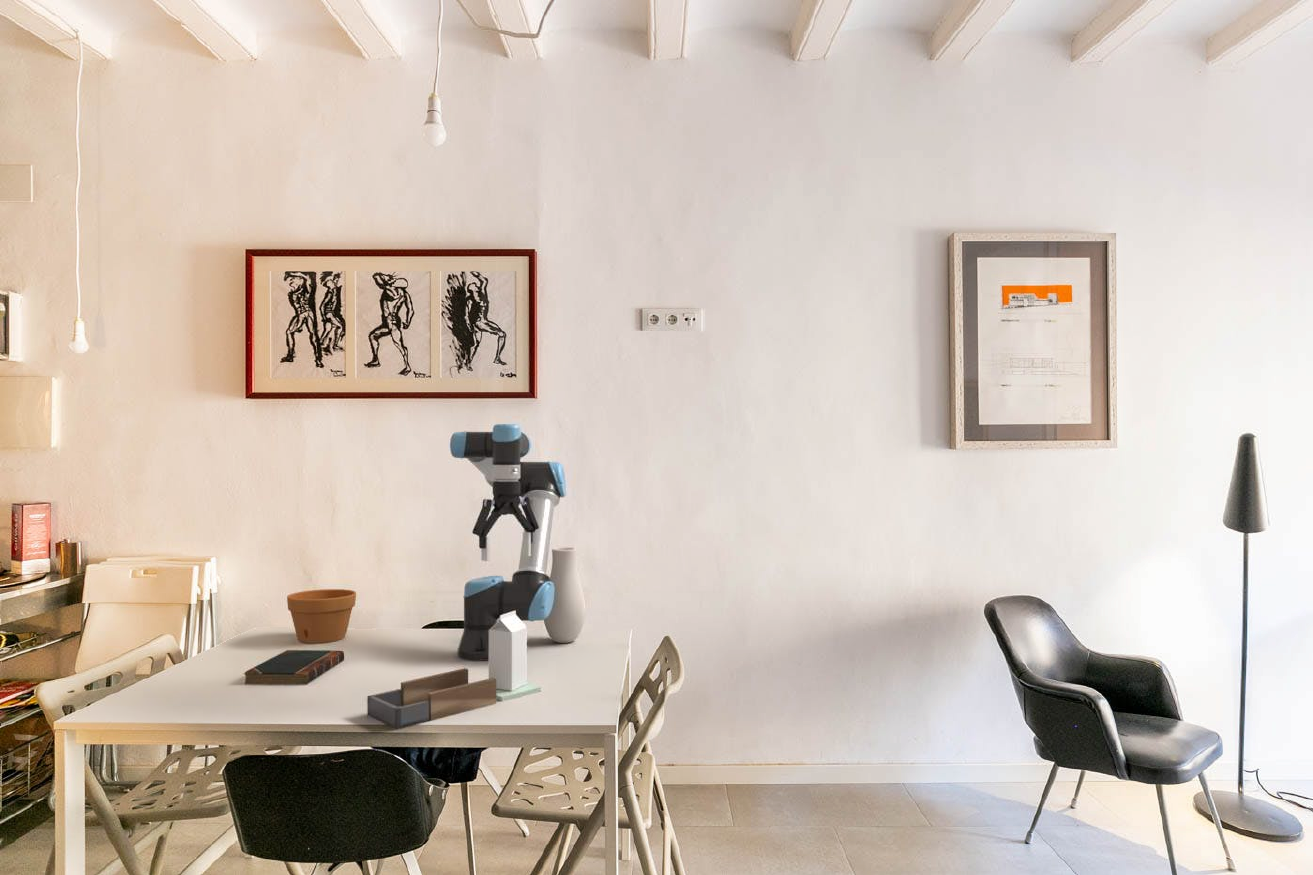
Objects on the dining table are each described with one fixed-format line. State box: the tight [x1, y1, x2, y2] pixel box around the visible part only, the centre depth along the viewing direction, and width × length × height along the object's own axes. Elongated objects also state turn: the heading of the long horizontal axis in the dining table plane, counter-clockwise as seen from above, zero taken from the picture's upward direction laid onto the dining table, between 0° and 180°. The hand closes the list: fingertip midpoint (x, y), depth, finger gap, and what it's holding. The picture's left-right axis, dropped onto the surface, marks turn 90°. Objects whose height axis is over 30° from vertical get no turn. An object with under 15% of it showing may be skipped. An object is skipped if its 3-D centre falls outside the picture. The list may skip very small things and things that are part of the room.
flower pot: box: [286, 588, 357, 644], centre depth 274 cm, size 21×21×15 cm
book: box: [243, 649, 345, 685], centre depth 234 cm, size 17×4×25 cm
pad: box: [496, 682, 542, 702], centre depth 215 cm, size 13×12×1 cm
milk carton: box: [488, 611, 528, 691], centre depth 216 cm, size 7×7×19 cm
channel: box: [400, 667, 497, 721], centre depth 203 cm, size 14×18×6 cm
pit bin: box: [366, 688, 430, 730], centre depth 194 cm, size 14×8×4 cm, turn 45°
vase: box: [543, 546, 586, 644], centre depth 270 cm, size 14×14×30 cm
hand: (506, 558), depth 228 cm, fingers open, 13 cm apart
